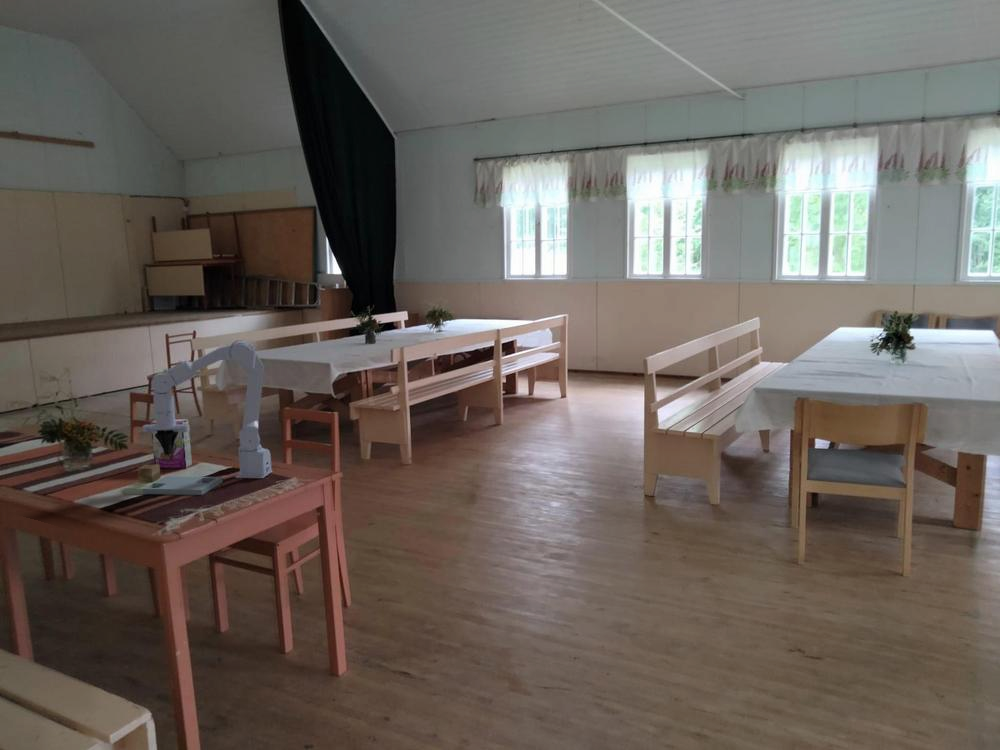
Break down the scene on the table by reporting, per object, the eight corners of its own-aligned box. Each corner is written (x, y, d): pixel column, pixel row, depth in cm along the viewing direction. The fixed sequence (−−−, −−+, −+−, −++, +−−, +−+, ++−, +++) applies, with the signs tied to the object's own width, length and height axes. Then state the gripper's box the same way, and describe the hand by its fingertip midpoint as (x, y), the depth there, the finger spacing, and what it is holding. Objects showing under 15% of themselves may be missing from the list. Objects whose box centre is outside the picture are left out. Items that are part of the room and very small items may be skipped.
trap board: (222, 482, 236) (222, 477, 236) (202, 494, 224) (201, 489, 223) (149, 480, 239) (148, 476, 239) (124, 493, 227) (124, 488, 226)
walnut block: (160, 478, 236) (159, 464, 236) (152, 482, 232) (151, 468, 231) (147, 478, 237) (146, 464, 236) (139, 482, 233) (137, 468, 232)
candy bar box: (154, 469, 253) (149, 422, 250) (161, 465, 258) (156, 419, 255) (186, 469, 253) (182, 421, 250) (193, 464, 258) (188, 418, 255)
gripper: (193, 409, 235) (197, 450, 237) (150, 408, 236) (154, 450, 238) (181, 413, 228) (185, 456, 230) (137, 413, 229) (141, 456, 231)
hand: (168, 454), depth 234 cm, fingers closed
